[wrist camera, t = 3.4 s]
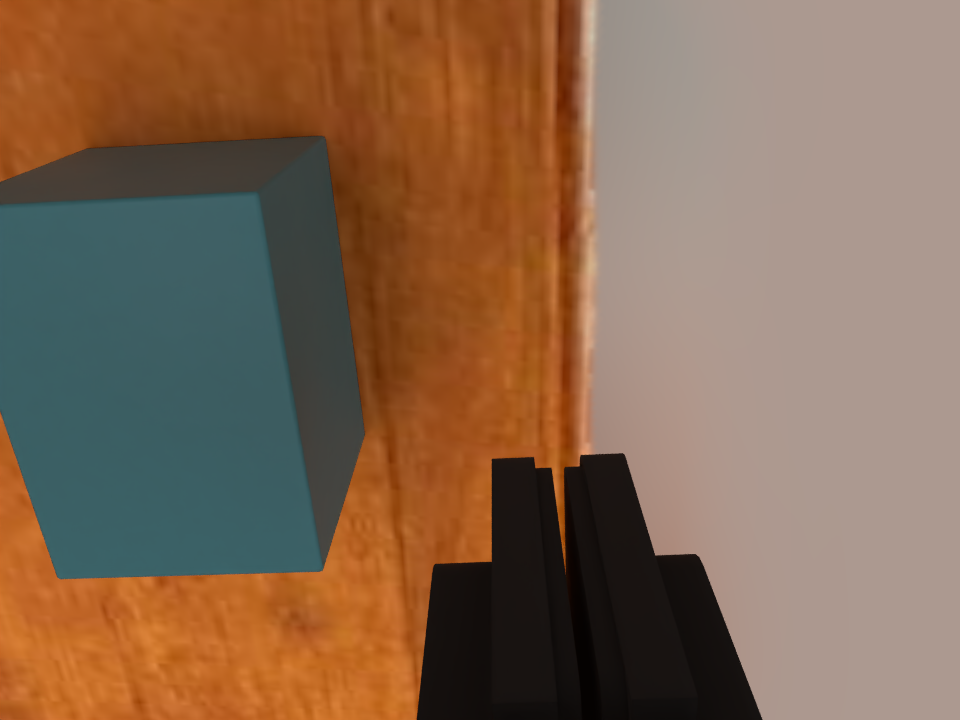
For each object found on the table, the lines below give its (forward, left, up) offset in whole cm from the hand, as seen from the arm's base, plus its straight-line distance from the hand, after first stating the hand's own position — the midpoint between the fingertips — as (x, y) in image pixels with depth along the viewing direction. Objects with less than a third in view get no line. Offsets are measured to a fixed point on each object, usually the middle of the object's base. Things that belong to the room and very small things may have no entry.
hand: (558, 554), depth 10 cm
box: (+4, -5, -8) cm, 11 cm away
